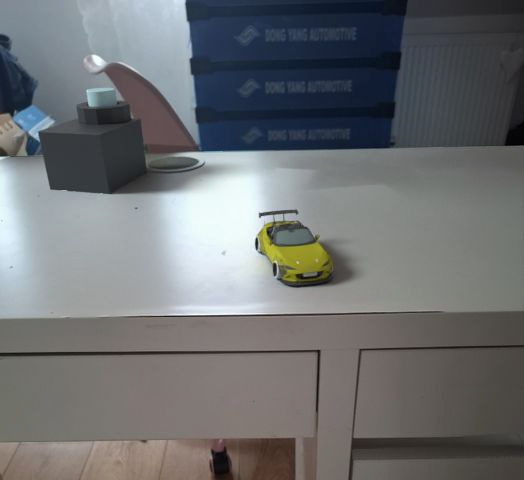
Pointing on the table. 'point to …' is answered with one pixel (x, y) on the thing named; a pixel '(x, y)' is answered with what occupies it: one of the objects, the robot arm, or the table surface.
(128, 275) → the table surface
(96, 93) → the pale turquoise short cylinder
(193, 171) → the table surface
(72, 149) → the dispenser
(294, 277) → the sports car
